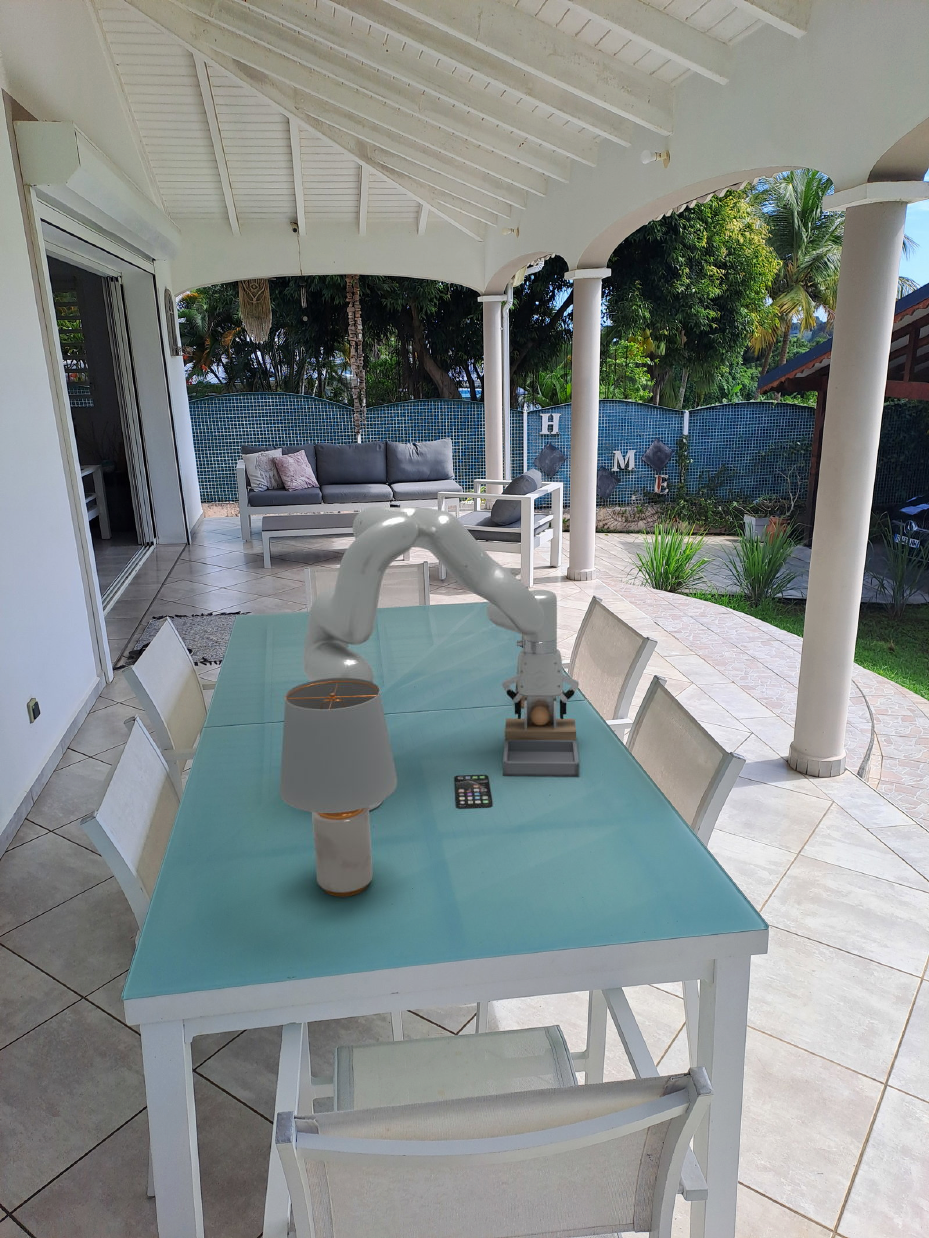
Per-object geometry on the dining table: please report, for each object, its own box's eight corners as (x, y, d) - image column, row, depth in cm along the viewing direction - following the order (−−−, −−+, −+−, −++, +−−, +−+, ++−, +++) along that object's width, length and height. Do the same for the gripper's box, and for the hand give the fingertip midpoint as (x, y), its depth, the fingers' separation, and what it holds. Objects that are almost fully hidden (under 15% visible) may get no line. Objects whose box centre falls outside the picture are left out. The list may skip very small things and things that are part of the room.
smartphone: (488, 774, 185) (493, 806, 171) (488, 777, 185) (493, 809, 171) (453, 775, 185) (455, 807, 170) (453, 778, 185) (455, 810, 171)
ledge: (576, 752, 195) (576, 731, 194) (505, 751, 197) (504, 731, 195) (574, 738, 203) (574, 718, 202) (506, 738, 204) (506, 718, 203)
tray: (578, 776, 183) (578, 763, 182) (503, 775, 185) (503, 762, 184) (576, 752, 195) (576, 740, 195) (505, 751, 197) (505, 739, 196)
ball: (550, 728, 196) (550, 710, 195) (530, 728, 197) (530, 710, 196) (549, 721, 201) (549, 703, 200) (530, 721, 201) (530, 703, 200)
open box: (556, 730, 195) (556, 700, 194) (524, 729, 196) (524, 700, 194) (555, 719, 202) (555, 690, 200) (524, 719, 202) (524, 690, 201)
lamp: (403, 851, 155) (395, 671, 146) (399, 913, 137) (389, 712, 128) (297, 856, 155) (282, 675, 146) (279, 918, 136) (261, 716, 128)
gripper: (500, 650, 191) (502, 723, 195) (579, 650, 189) (579, 723, 194) (502, 640, 198) (503, 711, 202) (578, 640, 197) (577, 711, 201)
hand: (540, 716), depth 198 cm, fingers open, 9 cm apart
